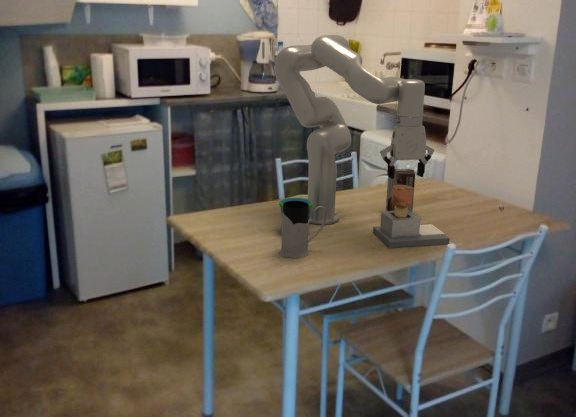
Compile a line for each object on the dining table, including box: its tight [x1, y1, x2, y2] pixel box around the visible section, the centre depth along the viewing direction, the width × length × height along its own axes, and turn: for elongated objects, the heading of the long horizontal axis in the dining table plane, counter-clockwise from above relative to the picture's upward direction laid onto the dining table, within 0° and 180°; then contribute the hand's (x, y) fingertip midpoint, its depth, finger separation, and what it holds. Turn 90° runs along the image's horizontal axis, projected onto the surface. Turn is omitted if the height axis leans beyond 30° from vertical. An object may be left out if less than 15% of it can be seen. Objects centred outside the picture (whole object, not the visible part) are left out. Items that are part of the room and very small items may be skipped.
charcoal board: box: [372, 223, 451, 249], centre depth 198 cm, size 20×14×2 cm
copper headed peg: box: [392, 185, 415, 218], centre depth 195 cm, size 6×6×15 cm
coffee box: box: [385, 168, 416, 213], centre depth 219 cm, size 9×6×16 cm
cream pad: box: [419, 223, 446, 237], centre depth 199 cm, size 8×9×1 cm
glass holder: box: [279, 201, 327, 259], centre depth 183 cm, size 9×14×15 cm, turn 111°
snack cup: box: [278, 197, 313, 220], centre depth 200 cm, size 16×10×10 cm
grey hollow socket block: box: [379, 210, 421, 239], centre depth 196 cm, size 9×9×6 cm
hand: (405, 176), depth 191 cm, fingers open, 9 cm apart
